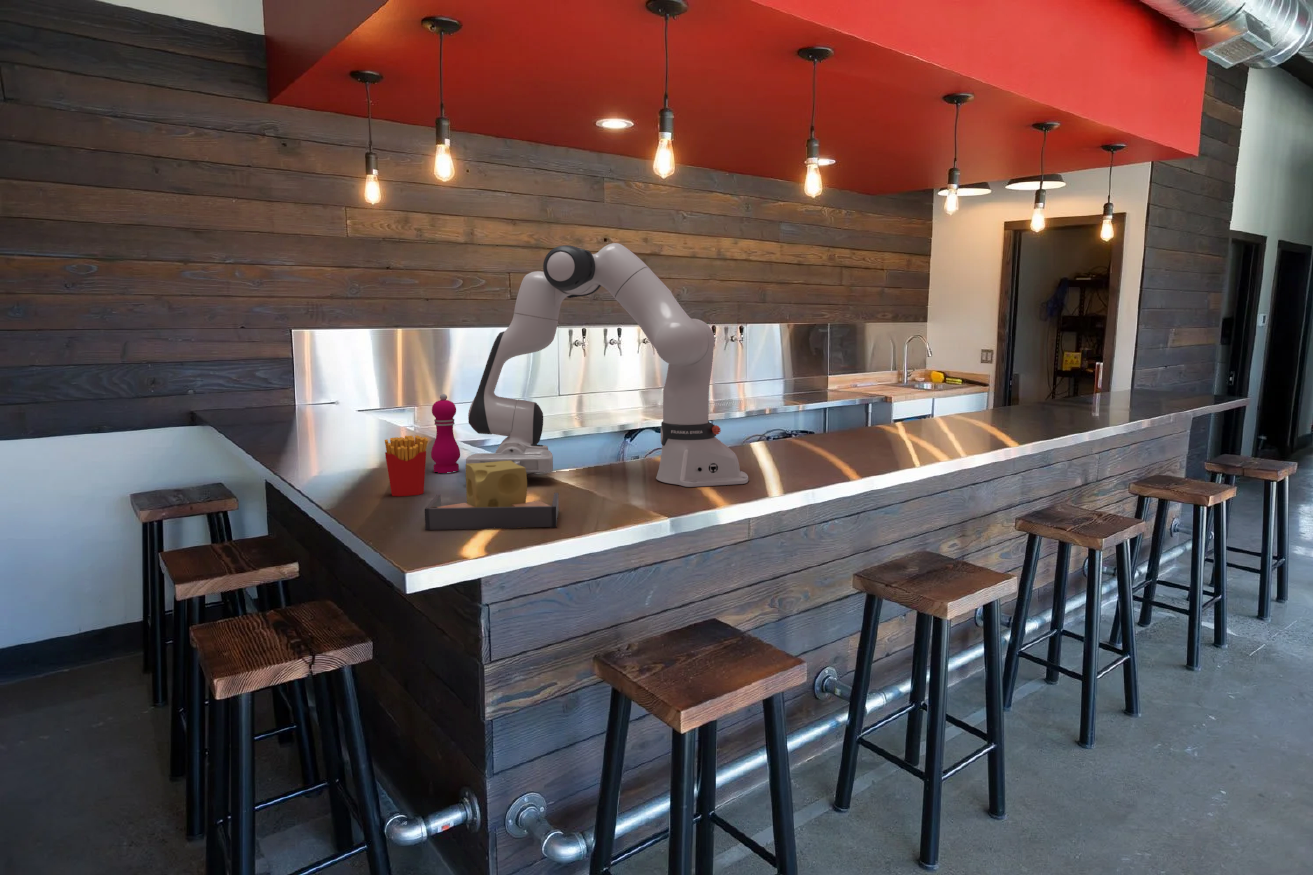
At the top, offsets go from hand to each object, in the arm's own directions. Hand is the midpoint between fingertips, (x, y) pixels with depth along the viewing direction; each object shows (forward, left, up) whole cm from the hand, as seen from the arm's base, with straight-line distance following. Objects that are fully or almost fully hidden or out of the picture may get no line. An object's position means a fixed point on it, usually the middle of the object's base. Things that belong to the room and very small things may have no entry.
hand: (507, 469), depth 181 cm
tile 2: (-7, +25, -5) cm, 27 cm away
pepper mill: (+18, -24, -5) cm, 31 cm away
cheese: (+1, +19, -5) cm, 20 cm away
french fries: (+22, +1, -5) cm, 23 cm away
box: (0, +26, -5) cm, 26 cm away
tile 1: (+7, +26, -5) cm, 27 cm away
